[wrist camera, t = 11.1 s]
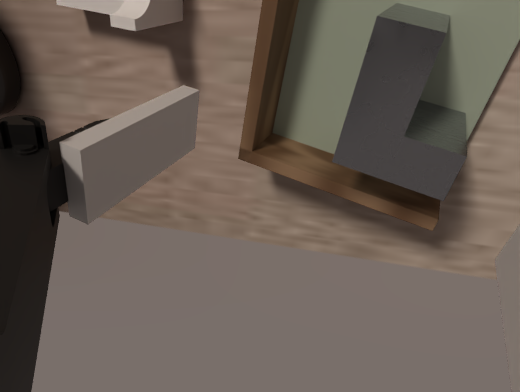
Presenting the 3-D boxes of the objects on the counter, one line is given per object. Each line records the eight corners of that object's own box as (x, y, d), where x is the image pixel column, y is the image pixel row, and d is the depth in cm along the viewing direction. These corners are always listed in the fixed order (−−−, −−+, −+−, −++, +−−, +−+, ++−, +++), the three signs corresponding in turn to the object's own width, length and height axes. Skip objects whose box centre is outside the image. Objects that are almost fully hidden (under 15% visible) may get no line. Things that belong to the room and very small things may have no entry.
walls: (263, 136, 42) (238, 158, 37) (307, -96, 30) (278, -107, 26) (435, 196, 37) (432, 231, 33) (562, -50, 26) (584, -52, 21)
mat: (263, 136, 42) (259, 139, 41) (307, -96, 30) (303, -98, 30) (435, 196, 37) (435, 201, 36) (562, -50, 26) (565, -50, 25)
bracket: (396, 2, 30) (377, 15, 23) (507, 28, 28) (522, 51, 21) (357, 122, 36) (331, 161, 29) (447, 150, 34) (443, 201, 27)
